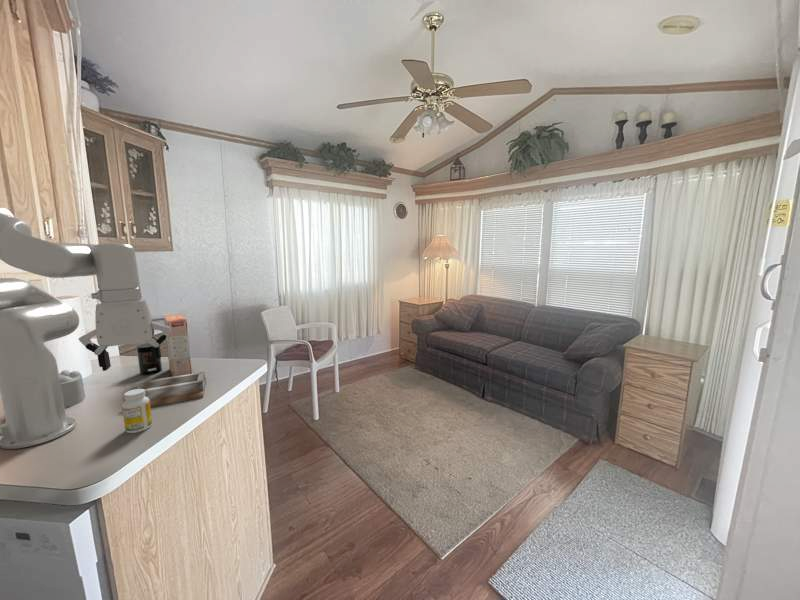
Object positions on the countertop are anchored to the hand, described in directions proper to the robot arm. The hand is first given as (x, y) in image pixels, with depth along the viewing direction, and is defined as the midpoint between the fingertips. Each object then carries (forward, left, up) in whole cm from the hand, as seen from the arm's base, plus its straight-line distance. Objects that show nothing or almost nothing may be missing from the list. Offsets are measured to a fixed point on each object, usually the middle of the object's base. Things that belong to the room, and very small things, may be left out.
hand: (132, 365), depth 80 cm
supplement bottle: (0, 0, -17) cm, 17 cm away
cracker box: (+4, +42, -17) cm, 45 cm away
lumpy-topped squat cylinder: (-25, +31, -17) cm, 43 cm away
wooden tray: (+4, +20, -16) cm, 26 cm away
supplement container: (-6, +48, -17) cm, 51 cm away
